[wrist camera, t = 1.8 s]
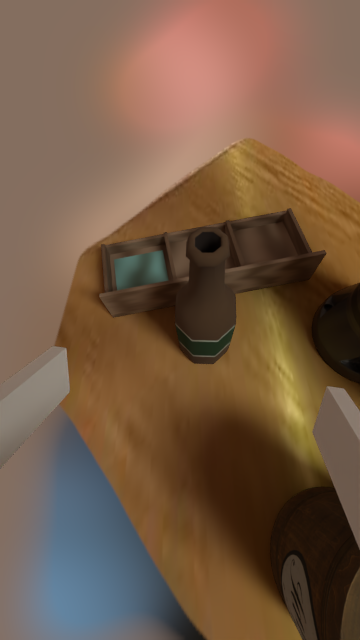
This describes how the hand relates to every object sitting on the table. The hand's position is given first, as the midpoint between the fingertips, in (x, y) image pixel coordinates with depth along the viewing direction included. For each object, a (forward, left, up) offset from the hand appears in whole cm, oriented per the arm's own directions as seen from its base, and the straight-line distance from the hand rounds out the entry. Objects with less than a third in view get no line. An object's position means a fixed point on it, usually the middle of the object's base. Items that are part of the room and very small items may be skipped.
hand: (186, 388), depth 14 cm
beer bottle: (-4, -11, -27) cm, 30 cm away
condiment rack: (-7, -25, -27) cm, 38 cm away
